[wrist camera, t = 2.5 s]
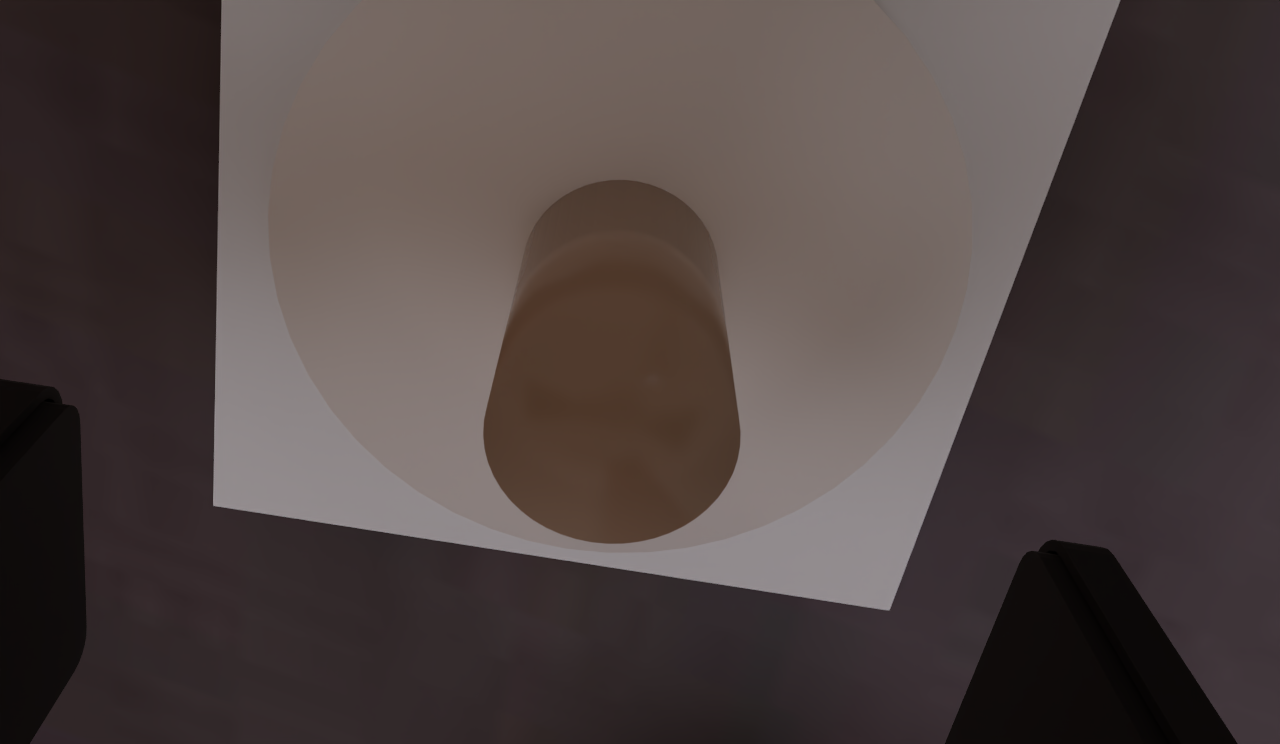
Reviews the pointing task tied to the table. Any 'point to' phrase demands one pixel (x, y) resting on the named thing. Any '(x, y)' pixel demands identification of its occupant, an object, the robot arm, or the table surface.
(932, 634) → the table surface
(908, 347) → the lid
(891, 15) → the mat
